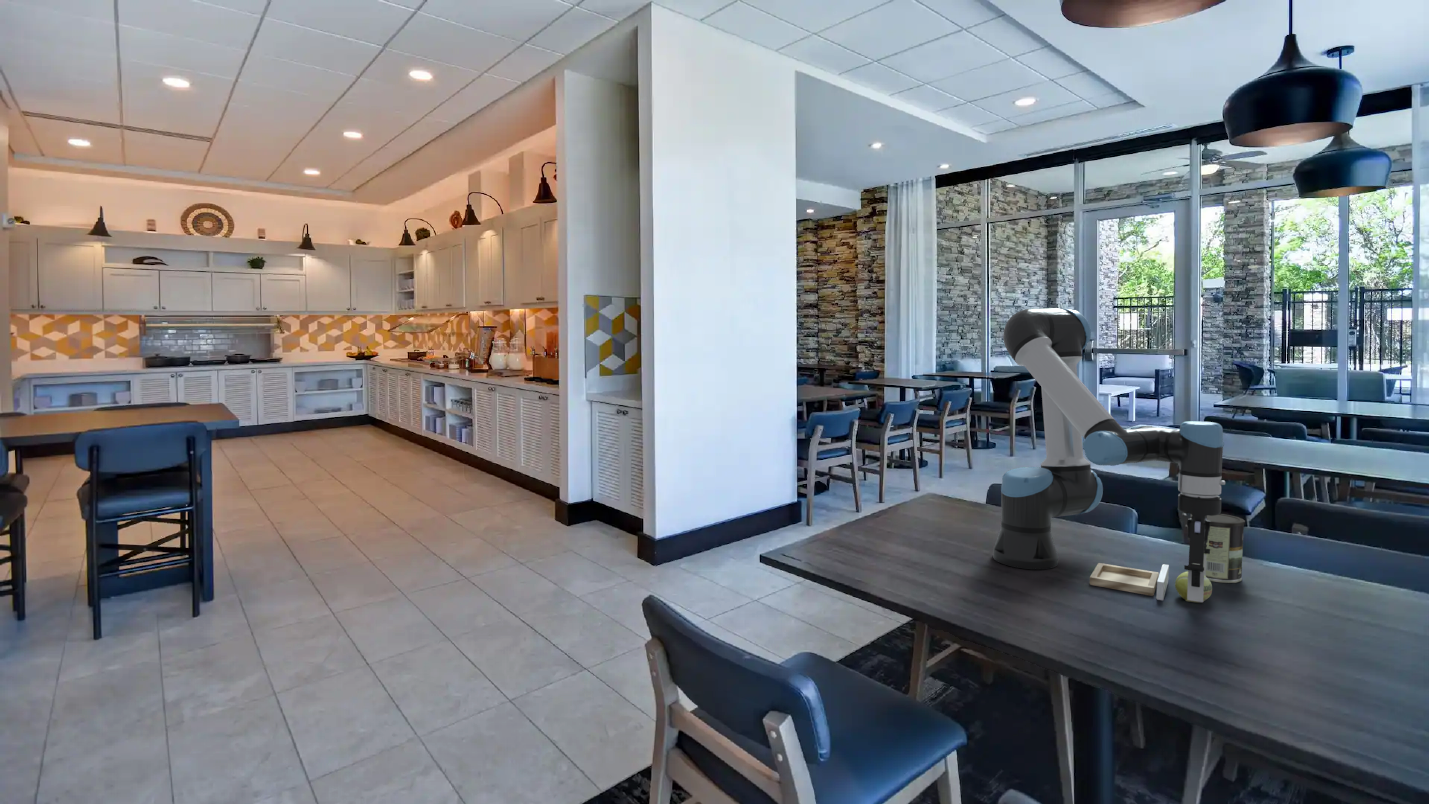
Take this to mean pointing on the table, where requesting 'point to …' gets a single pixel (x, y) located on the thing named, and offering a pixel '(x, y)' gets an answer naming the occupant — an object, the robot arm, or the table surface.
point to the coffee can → (1224, 548)
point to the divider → (1162, 582)
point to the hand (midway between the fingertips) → (1196, 591)
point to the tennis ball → (1182, 586)
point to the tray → (1124, 579)
